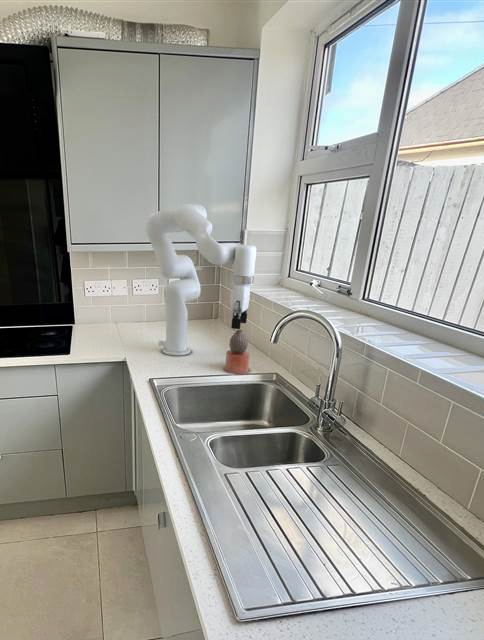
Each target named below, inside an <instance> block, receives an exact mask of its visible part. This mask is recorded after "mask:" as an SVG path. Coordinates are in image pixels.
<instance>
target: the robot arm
mask: <svg viewBox="0 0 484 640" xmlns="http://www.w3.org/2000/svg"><path fill="white" fill-rule="evenodd" d="M182 232H186V233H187V234H188V235H189V236H190V237H191V238H193V239H194V240H195V245H196V248H197V250H198V253H200V255H201V256H202V257H203V258H205V260H207V261H208V262H209V263H211V264H213V265H214V266H224V265H225V266H226V265H232V264H233V271H232V272H233V275H232V285H233V289H232V294H231V302H230V312H232V317H231V329H233V330H241V324H247V320H248V309H249V306H250V300H251V299H250V298H251V286H253V285H254V279H255V269H256V259H257V247H256V245H253V244H242V243H241V244H240V243H237V242H222V243H220V242H218V241H216V240H215V239H214V238H213V237H211V235H212V232H213V224H212V222H211V221H210V220H208V212H207V210H206V208H205V206H203V205H201V204H200V203H182V204H180V205H177V206H176V207H175V210H157V211H154V212H152V213H151V214H150V215H149V217H148V219H147V222H146V234H147V238H148V240H149V242H150V244H151V247H152V250H153V252H154V254H155V259H156V262H157V265H158V268H159V271H160V274H161V276H162V277H163V278H164V279H167V280H171V279H176V280H172V281H170V282H168V283H167V284H166V285H165V286H164V288H163V296H164V297H163V298H164V303H165V329H166V330H165V340H158V343H157V344H158V346H160V347H163V348H162V353H163V354H166V355H169V356H186V355H188V354H190V353H191V348H190V347H189V346H188V325H189V324H188V323H189V314H188V313H189V312H188V308H187V306H186V303H187V302H191V301H195V300H197V299H198V298H199V297H200V295H201V291H202V290H201V283H200V281H199V277H198V274H197V270H196V267H195V265H194V262H193V260H192V259H191V257H189V256H188V255H186V254H177V252H176V250H175V247H174V244H173V242H172V241H171V239H170V238H169V237H168V235H167V233H168V234H171V233H182Z"/></svg>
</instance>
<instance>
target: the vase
mask: <svg viewBox="0 0 484 640" xmlns="http://www.w3.org/2000/svg"><path fill="white" fill-rule="evenodd" d="M248 343H249V342H248V338H247V336H246V334H245V333H244V331H243V330H242V329H235V332H234V333H233V335H232V336H231V338H230V339H229V350H231V351H232V352H233V353H236V354H242V353H243V352H245V351H247V348H248V345H249V344H248Z"/></svg>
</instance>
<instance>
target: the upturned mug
mask: <svg viewBox="0 0 484 640" xmlns="http://www.w3.org/2000/svg"><path fill="white" fill-rule="evenodd" d="M249 365H250V352H249V351H247V350H245V352H243V353H242V354H236V353H233V352H232V351H231V349H229V350H227V351H226V353H225V368H224V369H225V371H226V372H227V373H230V374H237V375H238V374H239V375H240V374H246V373H247V372H248V371H249Z"/></svg>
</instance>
